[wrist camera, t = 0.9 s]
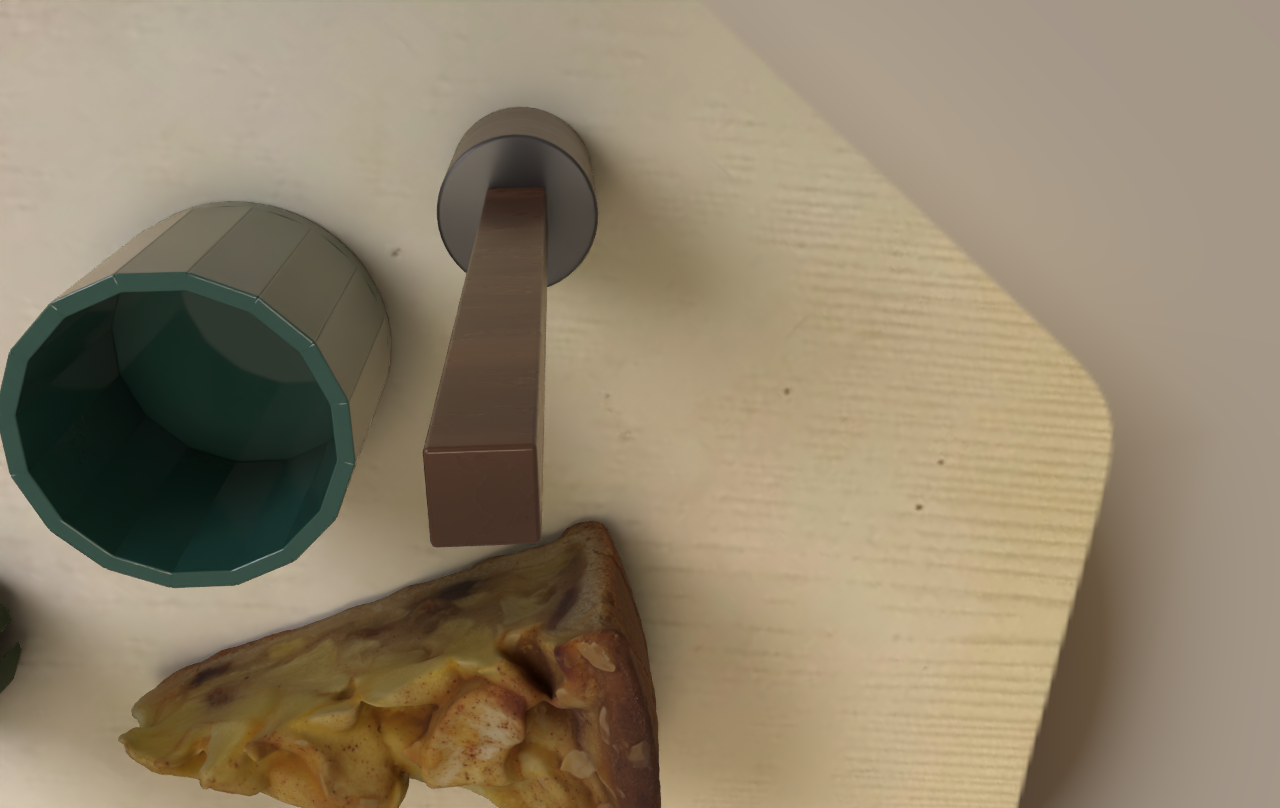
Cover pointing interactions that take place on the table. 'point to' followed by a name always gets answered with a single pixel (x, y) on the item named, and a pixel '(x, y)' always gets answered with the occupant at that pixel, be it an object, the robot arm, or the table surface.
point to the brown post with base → (503, 320)
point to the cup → (199, 396)
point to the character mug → (5, 669)
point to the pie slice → (432, 694)
